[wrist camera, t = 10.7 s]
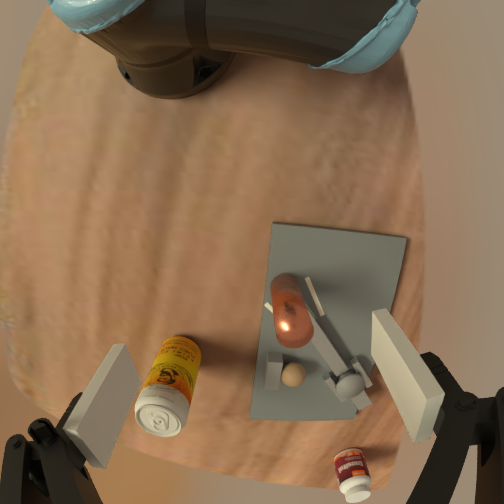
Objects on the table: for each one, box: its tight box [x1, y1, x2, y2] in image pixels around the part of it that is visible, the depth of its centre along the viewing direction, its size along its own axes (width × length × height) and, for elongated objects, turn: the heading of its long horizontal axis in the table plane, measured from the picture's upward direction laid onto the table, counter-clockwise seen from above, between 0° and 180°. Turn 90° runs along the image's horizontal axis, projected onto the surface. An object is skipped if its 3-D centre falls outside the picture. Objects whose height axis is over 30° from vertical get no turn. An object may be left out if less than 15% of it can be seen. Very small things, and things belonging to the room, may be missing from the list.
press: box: [250, 222, 407, 421], centre depth 42 cm, size 32×18×5 cm, turn 175°
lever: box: [270, 274, 373, 410], centre depth 37 cm, size 27×6×12 cm, turn 34°
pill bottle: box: [334, 448, 371, 503], centre depth 47 cm, size 6×6×11 cm
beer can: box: [135, 336, 202, 437], centre depth 37 cm, size 6×6×15 cm
